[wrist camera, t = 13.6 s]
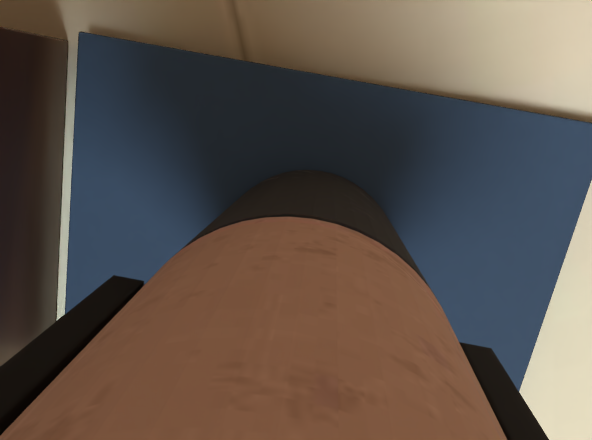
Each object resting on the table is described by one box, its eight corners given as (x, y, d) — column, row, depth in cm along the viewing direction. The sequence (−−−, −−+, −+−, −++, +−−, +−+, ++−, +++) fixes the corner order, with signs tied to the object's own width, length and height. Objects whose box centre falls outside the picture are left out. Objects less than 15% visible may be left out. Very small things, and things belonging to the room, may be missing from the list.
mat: (73, 346, 22) (62, 357, 21) (90, 34, 19) (77, 31, 18) (494, 429, 22) (501, 444, 21) (596, 124, 18) (611, 125, 17)
